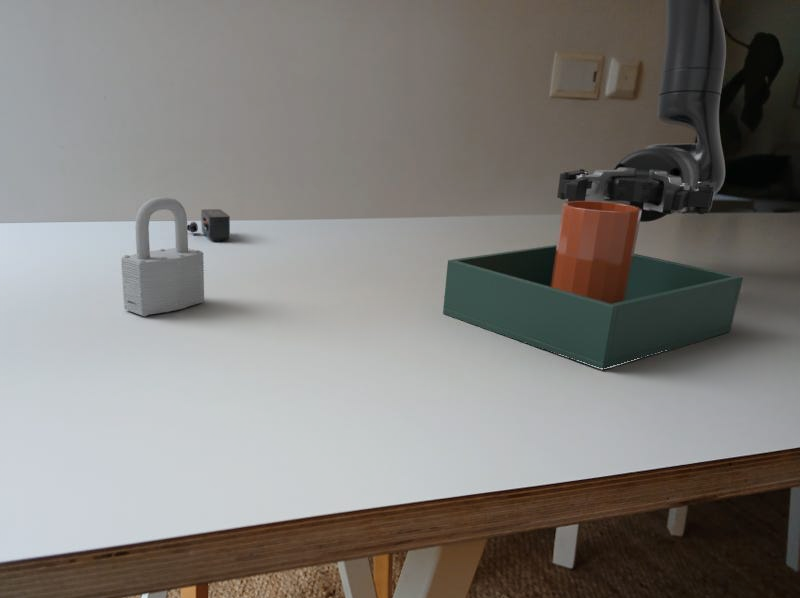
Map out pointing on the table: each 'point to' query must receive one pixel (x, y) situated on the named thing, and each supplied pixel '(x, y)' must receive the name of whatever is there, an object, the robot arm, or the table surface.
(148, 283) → the padlock
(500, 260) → the tub
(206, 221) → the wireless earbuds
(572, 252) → the tumbler
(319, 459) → the table surface
